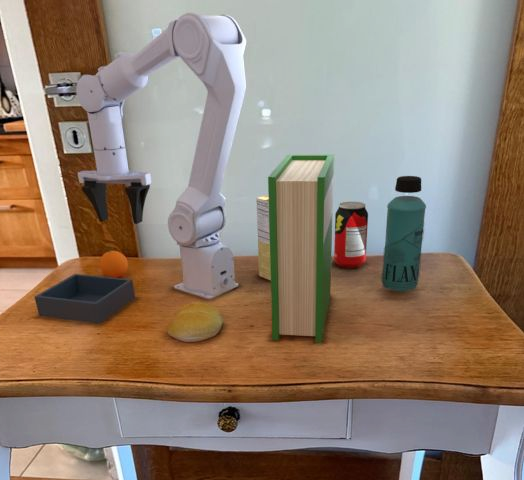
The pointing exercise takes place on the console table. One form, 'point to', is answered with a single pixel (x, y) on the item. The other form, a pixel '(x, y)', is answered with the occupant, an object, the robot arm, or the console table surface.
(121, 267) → the orange
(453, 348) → the console table surface
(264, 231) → the candy box
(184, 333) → the bread roll
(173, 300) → the console table surface
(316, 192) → the hardback book
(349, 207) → the beverage can
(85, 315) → the dark gray tray
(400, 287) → the beverage bottle
